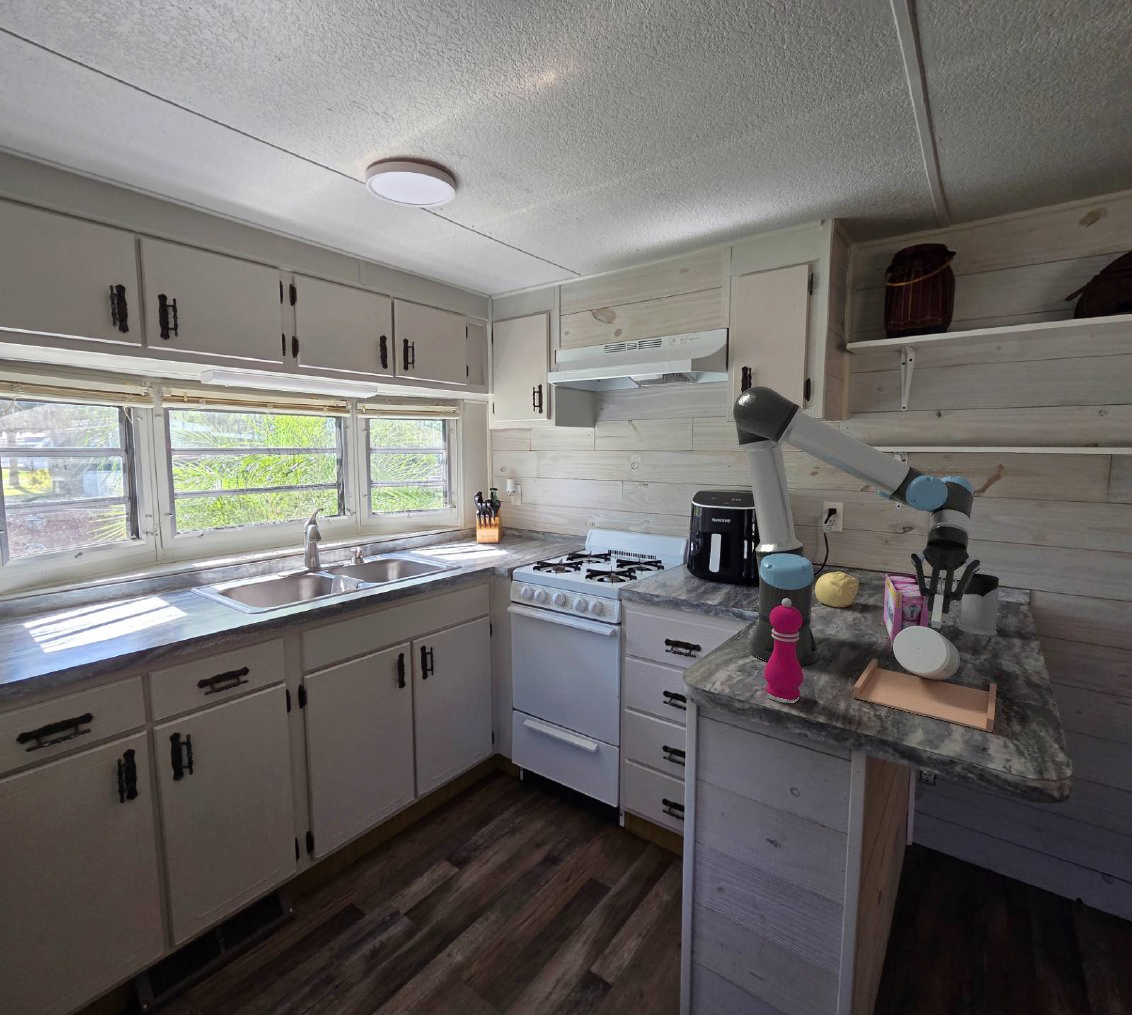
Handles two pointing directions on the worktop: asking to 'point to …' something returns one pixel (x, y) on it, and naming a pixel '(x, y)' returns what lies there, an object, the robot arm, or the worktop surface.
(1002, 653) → the worktop surface
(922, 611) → the gum box
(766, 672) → the pepper mill
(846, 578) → the sculpture
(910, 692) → the tan shallow tray
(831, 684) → the worktop surface
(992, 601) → the glass holder
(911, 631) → the supplement tub
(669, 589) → the worktop surface
